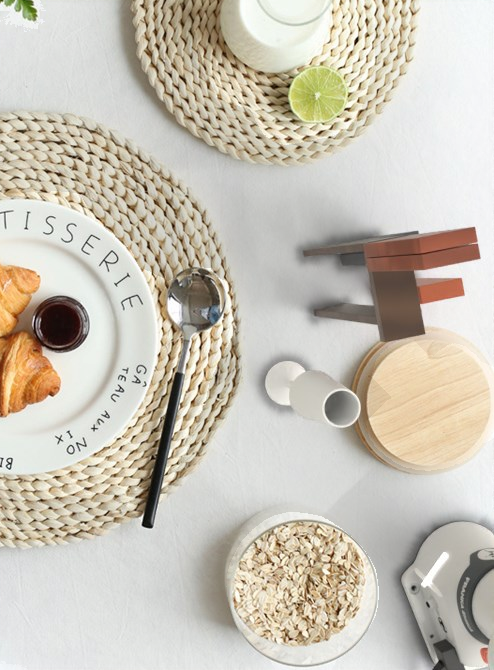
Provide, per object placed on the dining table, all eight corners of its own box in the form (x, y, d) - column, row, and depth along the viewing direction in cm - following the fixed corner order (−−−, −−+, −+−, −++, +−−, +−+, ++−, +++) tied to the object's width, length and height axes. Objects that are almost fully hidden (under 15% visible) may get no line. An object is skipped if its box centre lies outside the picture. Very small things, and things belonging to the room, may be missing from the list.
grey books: (380, 258, 124) (423, 255, 109) (342, 266, 123) (379, 264, 109) (376, 236, 124) (418, 230, 109) (338, 243, 123) (375, 239, 109)
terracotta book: (416, 293, 124) (465, 295, 109) (378, 301, 124) (422, 304, 109) (413, 278, 124) (462, 277, 109) (375, 285, 124) (418, 286, 109)
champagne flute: (255, 382, 123) (302, 407, 99) (288, 351, 123) (343, 368, 99) (285, 414, 123) (339, 447, 99) (318, 384, 124) (380, 409, 100)
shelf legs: (346, 309, 124) (417, 317, 99) (314, 316, 123) (377, 325, 99) (334, 244, 123) (402, 235, 99) (302, 250, 123) (362, 243, 99)
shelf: (424, 332, 99) (496, 343, 83) (376, 342, 99) (439, 354, 82) (406, 234, 99) (475, 225, 82) (358, 243, 99) (417, 236, 82)
